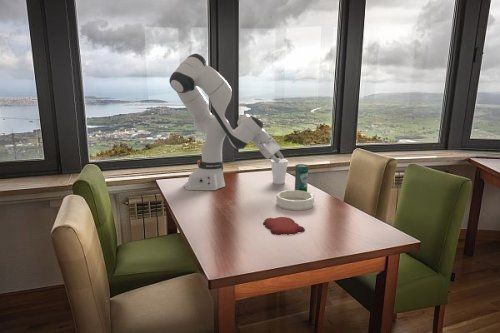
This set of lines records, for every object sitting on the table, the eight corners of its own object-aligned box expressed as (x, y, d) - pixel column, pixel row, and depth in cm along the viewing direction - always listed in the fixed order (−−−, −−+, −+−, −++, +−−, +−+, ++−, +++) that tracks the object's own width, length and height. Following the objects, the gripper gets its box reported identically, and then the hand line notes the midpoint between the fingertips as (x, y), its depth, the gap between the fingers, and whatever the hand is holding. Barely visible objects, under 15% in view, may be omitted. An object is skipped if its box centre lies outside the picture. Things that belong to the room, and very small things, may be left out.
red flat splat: (308, 233, 146) (308, 228, 145) (275, 238, 141) (275, 233, 141) (288, 217, 162) (288, 213, 161) (258, 221, 157) (258, 217, 157)
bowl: (282, 211, 168) (282, 202, 167) (273, 199, 184) (273, 191, 183) (318, 209, 171) (318, 200, 170) (306, 197, 187) (306, 189, 186)
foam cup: (286, 185, 209) (286, 162, 206) (269, 184, 211) (270, 161, 208) (287, 180, 218) (288, 159, 215) (272, 179, 220) (272, 158, 217)
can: (303, 196, 190) (304, 167, 187) (292, 194, 193) (293, 165, 190) (308, 193, 195) (309, 165, 192) (297, 191, 198) (298, 163, 195)
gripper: (261, 139, 183) (280, 160, 182) (271, 133, 202) (288, 152, 201) (252, 148, 185) (271, 168, 184) (263, 141, 204) (280, 160, 204)
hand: (280, 160), depth 193 cm, fingers open, 8 cm apart
